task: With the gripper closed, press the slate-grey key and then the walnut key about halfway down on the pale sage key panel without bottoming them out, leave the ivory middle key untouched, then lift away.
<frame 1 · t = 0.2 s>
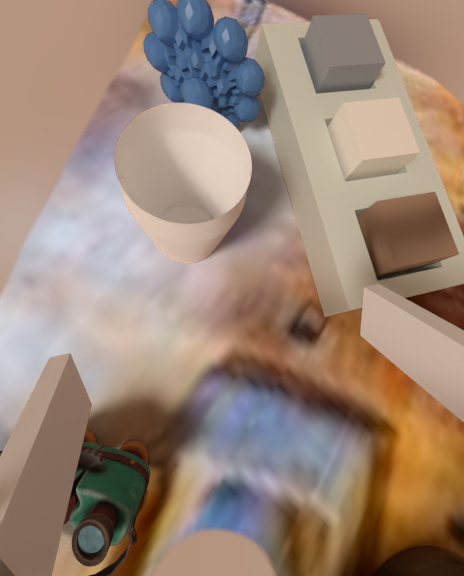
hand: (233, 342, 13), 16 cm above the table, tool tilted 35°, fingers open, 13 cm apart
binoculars: (95, 489, 25), on the table
grapes: (200, 129, 34), on the table
key panel: (341, 174, 35), on the table
walnut key: (402, 236, 28), point 5 cm above the table, slide at 0.0 cm
ivory key: (368, 142, 30), point 5 cm above the table, slide at 0.0 cm
cup: (186, 233, 31), on the table
slate key: (339, 58, 31), point 5 cm above the table, slide at 0.0 cm
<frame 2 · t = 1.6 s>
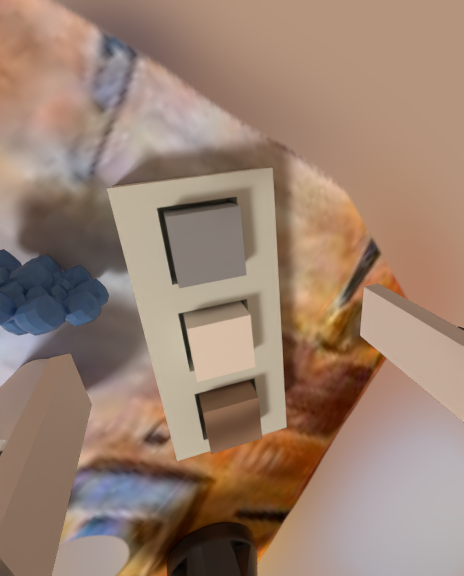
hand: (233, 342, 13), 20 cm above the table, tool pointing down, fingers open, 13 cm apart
grapes: (49, 275, 30), on the table
key panel: (209, 315, 35), on the table
walnut key: (229, 412, 34), point 5 cm above the table, slide at 0.0 cm
ivory key: (218, 338, 30), point 5 cm above the table, slide at 0.0 cm
cup: (47, 382, 34), on the table
slate key: (204, 243, 27), point 5 cm above the table, slide at 0.0 cm
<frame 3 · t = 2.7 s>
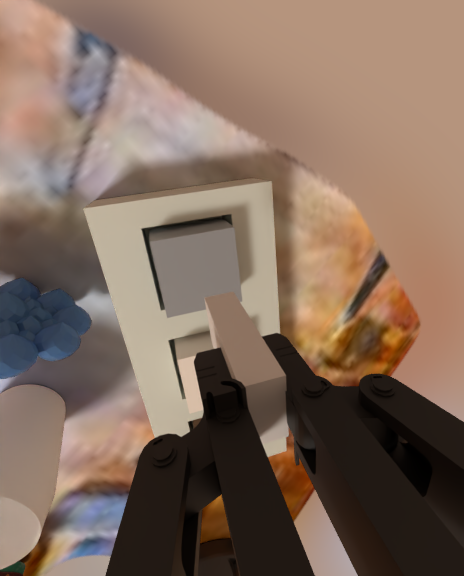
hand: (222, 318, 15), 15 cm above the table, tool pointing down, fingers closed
grapes: (27, 297, 27), on the table
key panel: (203, 335, 33), on the table
walnut key: (226, 439, 32), point 5 cm above the table, slide at 0.0 cm
ivory key: (213, 365, 28), point 5 cm above the table, slide at 0.0 cm
cup: (31, 407, 31), on the table
slate key: (195, 265, 24), point 6 cm above the table, slide at 0.0 cm
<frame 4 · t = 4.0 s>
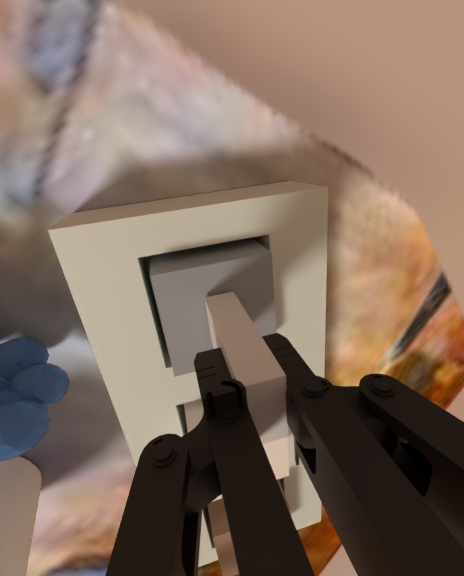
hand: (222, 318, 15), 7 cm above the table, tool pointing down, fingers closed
key panel: (219, 381, 26), on the table
walnut key: (248, 518, 25), point 6 cm above the table, slide at 0.0 cm
ivory key: (235, 434, 21), point 6 cm above the table, slide at 0.0 cm
slate key: (213, 301, 17), point 5 cm above the table, slide at 0.9 cm, touching gripper
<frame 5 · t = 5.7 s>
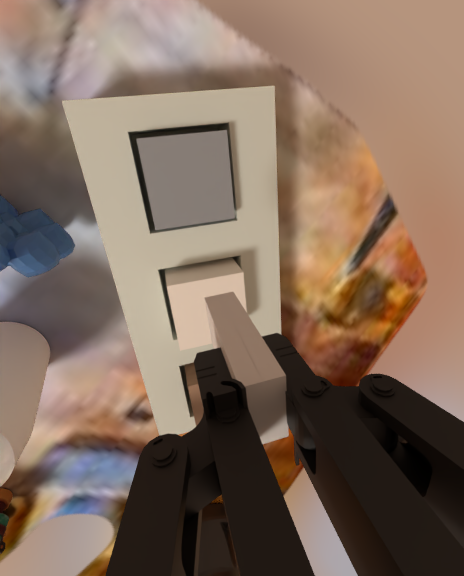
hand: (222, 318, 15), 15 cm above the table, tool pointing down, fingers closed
grapes: (6, 222, 25), on the table
key panel: (197, 278, 31), on the table
walnut key: (219, 387, 30), point 6 cm above the table, slide at 0.0 cm
ivory key: (206, 301, 26), point 6 cm above the table, slide at 0.0 cm
cup: (13, 349, 30), on the table
slate key: (186, 179, 23), point 4 cm above the table, slide at 1.2 cm
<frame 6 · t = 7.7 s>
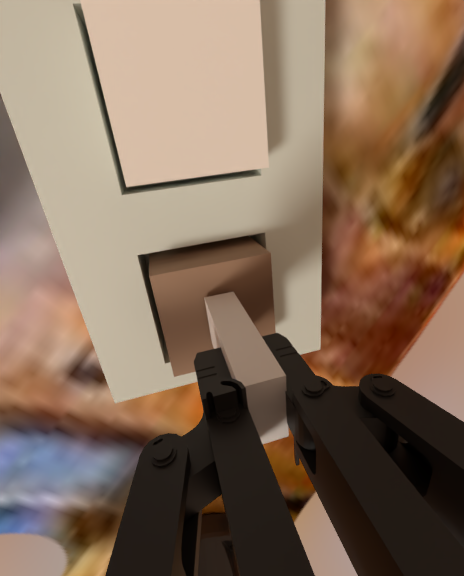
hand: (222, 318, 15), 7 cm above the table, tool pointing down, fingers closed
key panel: (173, 117, 18), on the table
walnut key: (212, 301, 17), point 5 cm above the table, slide at 0.4 cm, touching gripper
ivory key: (182, 100, 13), point 5 cm above the table, slide at 0.0 cm
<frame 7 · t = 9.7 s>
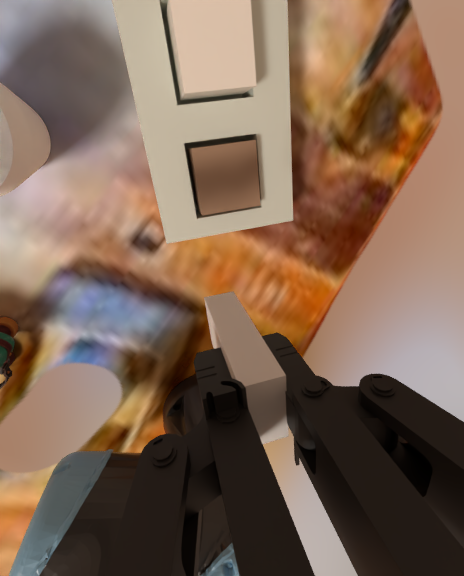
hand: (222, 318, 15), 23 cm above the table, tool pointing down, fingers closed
key panel: (201, 66, 30), on the table
walnut key: (223, 176, 30), point 4 cm above the table, slide at 1.3 cm
ivory key: (211, 50, 25), point 5 cm above the table, slide at 0.0 cm
cup: (12, 136, 28), on the table
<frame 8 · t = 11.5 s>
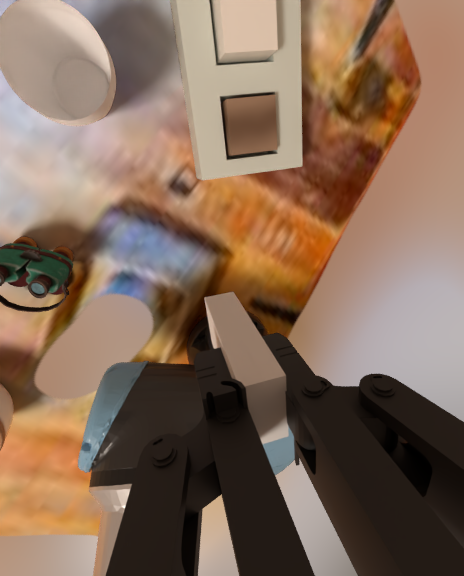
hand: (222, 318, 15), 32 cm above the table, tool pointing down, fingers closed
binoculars: (42, 270, 43), on the table
key panel: (231, 40, 38), on the table
walnut key: (248, 127, 38), point 4 cm above the table, slide at 1.3 cm
ivory key: (244, 23, 33), point 5 cm above the table, slide at 0.0 cm
cup: (83, 91, 36), on the table
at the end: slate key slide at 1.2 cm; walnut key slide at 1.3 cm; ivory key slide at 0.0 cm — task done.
